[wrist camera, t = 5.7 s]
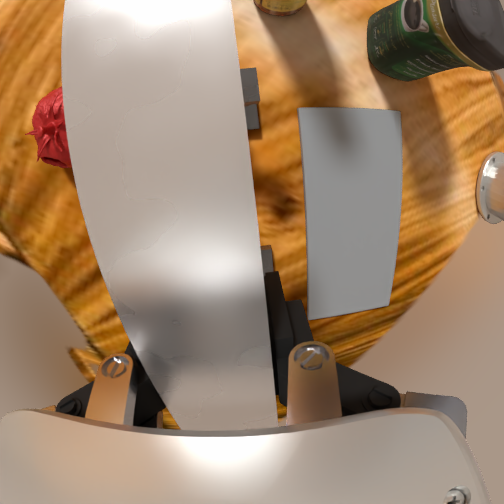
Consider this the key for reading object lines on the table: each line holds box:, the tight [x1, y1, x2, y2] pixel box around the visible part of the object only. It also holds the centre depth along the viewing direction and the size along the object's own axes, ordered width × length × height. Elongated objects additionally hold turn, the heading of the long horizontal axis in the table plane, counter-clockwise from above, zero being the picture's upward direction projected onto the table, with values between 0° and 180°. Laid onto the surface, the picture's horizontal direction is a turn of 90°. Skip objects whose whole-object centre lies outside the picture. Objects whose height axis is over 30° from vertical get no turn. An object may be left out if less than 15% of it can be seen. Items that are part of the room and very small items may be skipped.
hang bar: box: [62, 0, 278, 431], centre depth 9 cm, size 4×26×4 cm, turn 6°
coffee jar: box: [367, 0, 504, 81], centre depth 15 cm, size 10×8×19 cm
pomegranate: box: [25, 87, 72, 168], centre depth 22 cm, size 10×10×9 cm
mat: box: [297, 107, 402, 320], centre depth 33 cm, size 13×28×1 cm, turn 6°
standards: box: [240, 68, 273, 276], centre depth 25 cm, size 8×26×12 cm, turn 6°
